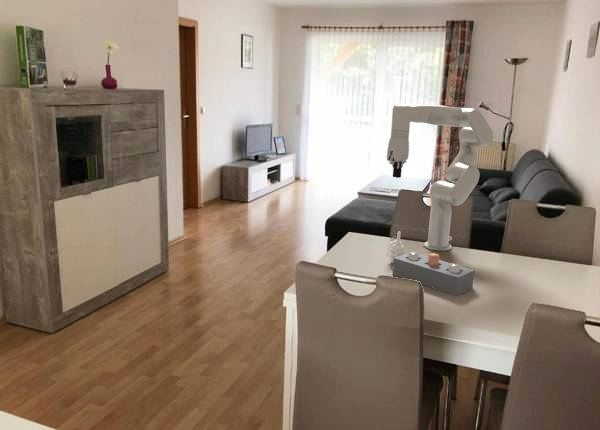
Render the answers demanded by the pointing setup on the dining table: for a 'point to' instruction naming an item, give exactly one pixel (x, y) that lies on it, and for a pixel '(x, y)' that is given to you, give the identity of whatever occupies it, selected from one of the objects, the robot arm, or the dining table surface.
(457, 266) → the clear piece
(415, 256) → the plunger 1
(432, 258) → the plunger mid
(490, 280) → the dining table surface
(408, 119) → the robot arm
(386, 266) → the dining table surface
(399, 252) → the white tall piece
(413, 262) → the grey long block
